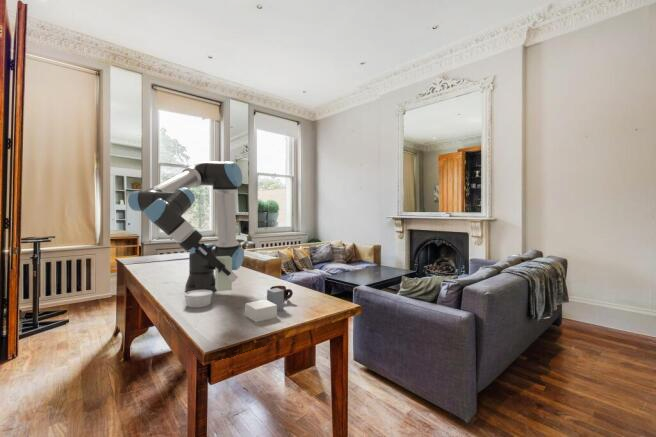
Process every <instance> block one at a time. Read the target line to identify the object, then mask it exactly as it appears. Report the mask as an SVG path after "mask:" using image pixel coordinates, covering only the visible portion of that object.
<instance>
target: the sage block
mask: <svg viewBox="0 0 656 437" xmlns="http://www.w3.org/2000/svg"><path fill="white" fill-rule="evenodd" d="M216 258H217V259H218V260H219V261H220V262H221V263H222V264H224V265H225V266H226V267H228V268H229V269H230V270H231V271H232V272H233V270H232V258H231V257H230V256H217V257H216ZM218 271H219V270H218V269H217V268H216V270H214V276H215V288H216V290H215V291H216V292H224V291H225V292H226V291H232V289H233V288H232V285H233V282H232V281H230V280H229V279H228V278H227V277H226V276H225V275H224V274H222V273H221V272H220V273H218Z"/></svg>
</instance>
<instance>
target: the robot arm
mask: <svg viewBox="0 0 656 437" xmlns="http://www.w3.org/2000/svg"><path fill="white" fill-rule="evenodd" d="M242 182H243V174H242V170H241V167H240V166H239V165H238V163H236V162H234V161H202V162H198V163H196V164H195V163H194V164H192V165H190V166H188V167H186V168H184V169H183V170H182V171H181V172H180V173H179V174H176V175H175V176H173V177H171V178H169V179H166V180H165V181H163V182H161V183H159V184H157V185H154V186H152V187H150V188H147V189H146V190H135V191H131V193H130V194H129V196H128V198H127V202H128V206H129V208H130V209H131V210H133V211H134V212H142V213H143V215H144V216H145V217H146V218H147V219H148V220H150V222H151V223H153V225H155V226H156V227H158V229H160V230H161V231H163V233H165V234H166V235H167V236H169V240H170V241H175V243H177V244H178V243H179V246H180V247H181V248H182V249H183V250H185V251H186V252H189V255H188V259H189V264H188V266H189V267H188V268H189V269H188V270H189V272H188V277H187V279H186V280H187V281H186V283H185V288H184V291H185V293H186V292H189V291H193V290H203V289H204V290H211V291H212V292H213V291H217V290H216V288H215V270H216V268H217V269H218V270H219V271H218V273H220V272H221V273H222V274H224V275H225V276H226V277H227V278H228V279H229V280H230V281H232V283H234V282H235V281H236V280H237V279H238V278H239V276H238V275H236V273H235V272H234V271H237V270H240V268H241V267H242V264H243V262H244V259H245V258H244V257H245V250H244V248H243V247H240V242H239V241H237V231H236V230H237V227H236V226H237V222H236V221H237V220H236V192H238V190H239V187H240V186H241V185H242V184H243V183H242ZM200 186H212V191H214V193H215V194H216V212H217V213H216V216H217V218H216V219H217V242H216V243H203V242H202V243H200V241H201V240H202V239H203V235H202V234H201V233H200V232H199V231H198V230H197V229H195V228H194V226H193V225H192V224H191V223H190V222H188V221H187V220H186V219H185V218H184V217H183V215H184V214H185V213H186V212H187V211H188V210H189V209H190V208H192V205H193V204H194V203H195V201H196V196H195V194H194V192H193V191H192V190H191V188H192V189H193V188H198V187H200ZM217 256H230V257H231V258H232V271H231V270H230V269H229V268H228V267H226V266H225V265H224V264H222V263H221V262H220V261H219V260H218V259H217V258H216V257H217Z"/></svg>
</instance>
